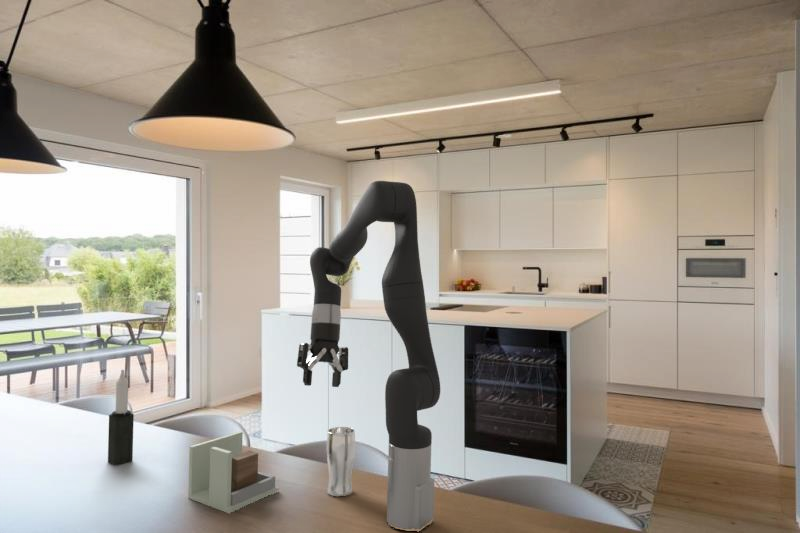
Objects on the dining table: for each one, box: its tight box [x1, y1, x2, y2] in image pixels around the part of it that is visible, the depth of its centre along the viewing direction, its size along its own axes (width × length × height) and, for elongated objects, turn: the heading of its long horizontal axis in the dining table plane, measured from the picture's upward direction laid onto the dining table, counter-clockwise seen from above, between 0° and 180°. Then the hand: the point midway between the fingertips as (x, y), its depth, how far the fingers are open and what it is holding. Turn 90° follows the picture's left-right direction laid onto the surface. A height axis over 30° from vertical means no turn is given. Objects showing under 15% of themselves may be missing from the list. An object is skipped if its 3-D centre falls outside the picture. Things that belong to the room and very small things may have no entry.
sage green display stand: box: [187, 431, 280, 514], centre depth 135 cm, size 14×15×13 cm
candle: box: [107, 369, 135, 466], centre depth 155 cm, size 5×5×25 cm
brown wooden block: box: [231, 450, 259, 493], centre depth 133 cm, size 3×6×9 cm, turn 146°
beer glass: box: [325, 426, 356, 496], centre depth 138 cm, size 7×7×15 cm
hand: (321, 386), depth 145 cm, fingers open, 8 cm apart
